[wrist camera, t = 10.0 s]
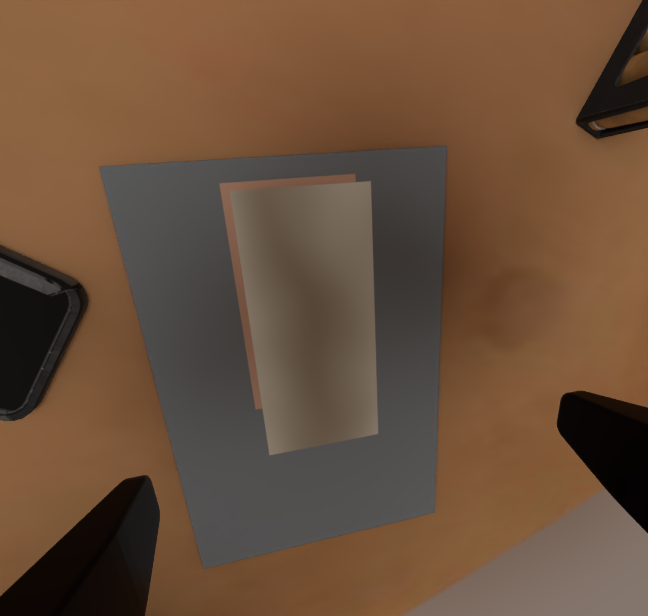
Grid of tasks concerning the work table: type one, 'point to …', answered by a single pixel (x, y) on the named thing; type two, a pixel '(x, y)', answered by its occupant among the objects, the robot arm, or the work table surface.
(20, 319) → the phone
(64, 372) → the work table surface
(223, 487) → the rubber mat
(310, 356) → the ash block
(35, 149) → the work table surface
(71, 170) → the work table surface
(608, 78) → the ammunition clip
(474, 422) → the work table surface
